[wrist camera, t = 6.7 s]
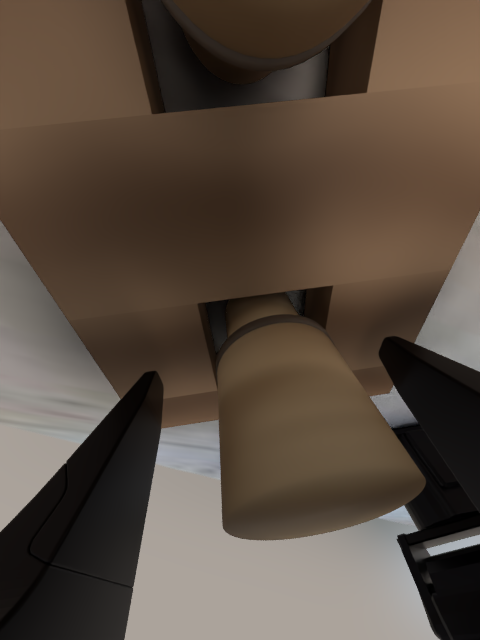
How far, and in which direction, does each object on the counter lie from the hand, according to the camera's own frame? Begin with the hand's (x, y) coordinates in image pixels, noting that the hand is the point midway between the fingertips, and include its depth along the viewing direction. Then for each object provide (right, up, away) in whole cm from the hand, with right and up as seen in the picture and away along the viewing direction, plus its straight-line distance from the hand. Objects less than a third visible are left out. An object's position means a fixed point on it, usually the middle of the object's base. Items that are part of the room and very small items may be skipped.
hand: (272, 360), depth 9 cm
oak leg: (0, +2, +3) cm, 3 cm away
